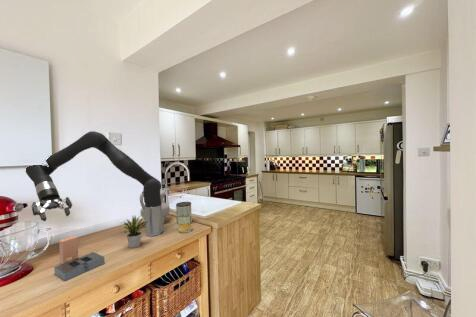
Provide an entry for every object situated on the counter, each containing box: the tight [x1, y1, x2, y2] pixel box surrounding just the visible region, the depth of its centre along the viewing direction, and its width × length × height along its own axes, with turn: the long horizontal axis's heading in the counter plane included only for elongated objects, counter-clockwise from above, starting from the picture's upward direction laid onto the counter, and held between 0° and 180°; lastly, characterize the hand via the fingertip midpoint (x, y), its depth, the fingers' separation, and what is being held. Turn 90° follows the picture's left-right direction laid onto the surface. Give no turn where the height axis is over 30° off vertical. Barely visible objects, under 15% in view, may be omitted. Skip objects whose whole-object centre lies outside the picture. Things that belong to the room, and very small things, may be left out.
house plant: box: [121, 215, 150, 249], centre depth 103 cm, size 14×14×16 cm
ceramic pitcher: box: [139, 187, 171, 223], centre depth 141 cm, size 22×20×25 cm
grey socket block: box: [53, 251, 105, 282], centre depth 84 cm, size 14×10×3 cm
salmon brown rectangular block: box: [58, 235, 79, 265], centre depth 90 cm, size 6×4×11 cm, turn 150°
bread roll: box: [177, 224, 193, 234], centre depth 124 cm, size 8×9×4 cm
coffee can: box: [175, 201, 193, 226], centre depth 139 cm, size 10×10×14 cm
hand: (57, 217), depth 96 cm, fingers open, 8 cm apart
